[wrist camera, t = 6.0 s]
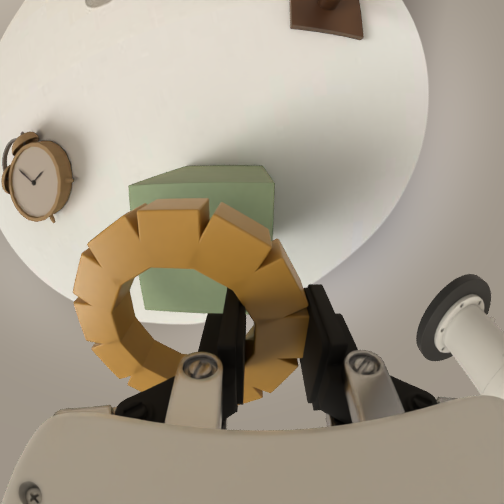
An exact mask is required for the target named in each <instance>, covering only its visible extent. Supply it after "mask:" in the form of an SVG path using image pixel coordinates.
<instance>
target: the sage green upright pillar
mask: <svg viewBox="0 0 504 504" xmlns="http://www.w3.org/2000/svg"><path fill="white" fill-rule="evenodd" d="M128 187H129V201H130V211H132V210H133V209H135V208H137V207H139V206H140V205H142V204H144V203H146V204H147V205H148V204H150V203H151V202H153V201H155V200H157V199H180V198H208V199H209V211H210V219H211V217H212V216H213V214H214V212H215V211H216V209H217V207H218V206H219V204H220V203H221V202H223V203H225V204H227V205H228V206H230V207H232V208H234V209H235V210H237V211H239V212H240V213H242V214H244V215H246V216H247V217H249V218H251V219H253V220H254V221H256V222H258V223H259V224H261V225H263V226H264V227H266V228H268V229H269V233H270V238H271V241H272V238H273V215H274V189H275V183H274V182H273V180H272V179H271V177H270V176H269V174H268V173H267V172H266V170H265V169H264V167H263V166H250V165H213V166H185V167H182V168H178V169H175V170H172V171H169V172H166V173H163V174H160V175H157V176H154V177H151V178H148V179H146V180H143V181H140V182H137V183H134V184H132V185H129V186H128ZM139 280H140V285H141V291H142V296H143V301H144V306H145V310H156V311H171V312H189V313H223V309H224V303H225V297H226V292H227V287H226V286H224V285H222V284H220V283H218V282H216V281H214V280H213V279H211V278H209V277H207V276H205V275H203V274H202V273H200V272H198V271H196V270H194V269H176V268H150V269H148V270H146V271H144V272H143V273H141V274H139ZM246 314H248V312H247V311H246Z"/></svg>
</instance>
